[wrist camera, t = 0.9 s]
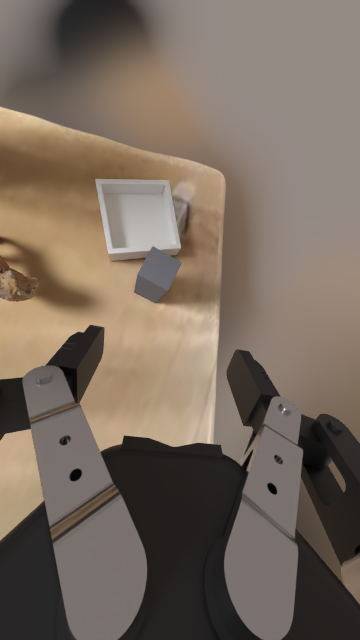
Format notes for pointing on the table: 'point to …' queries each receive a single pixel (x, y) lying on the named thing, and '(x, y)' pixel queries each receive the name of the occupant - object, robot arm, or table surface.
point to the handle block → (156, 275)
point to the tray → (137, 217)
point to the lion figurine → (15, 283)
